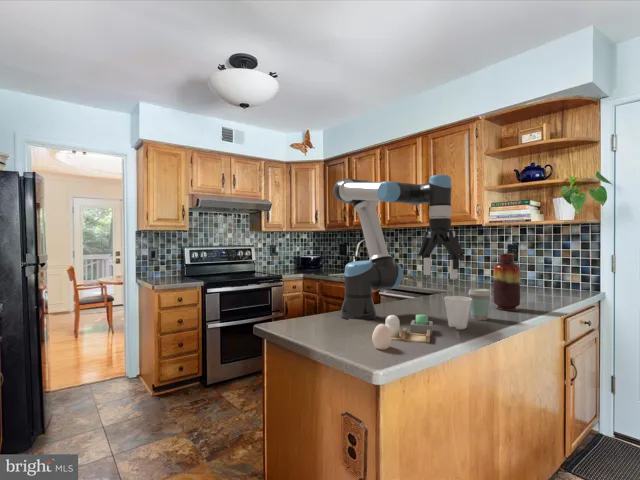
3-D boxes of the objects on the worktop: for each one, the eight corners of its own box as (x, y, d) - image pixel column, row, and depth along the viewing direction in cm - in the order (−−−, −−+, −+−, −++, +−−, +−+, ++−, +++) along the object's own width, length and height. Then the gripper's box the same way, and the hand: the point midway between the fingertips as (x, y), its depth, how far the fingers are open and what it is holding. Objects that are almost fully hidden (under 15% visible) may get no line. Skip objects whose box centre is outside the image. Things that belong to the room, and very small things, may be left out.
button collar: (410, 336, 120) (410, 324, 120) (412, 331, 127) (412, 319, 127) (432, 338, 118) (432, 326, 118) (432, 332, 124) (432, 321, 124)
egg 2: (384, 337, 115) (384, 315, 115) (386, 333, 120) (386, 313, 120) (398, 338, 114) (398, 316, 114) (400, 334, 118) (400, 314, 118)
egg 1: (372, 353, 102) (372, 325, 102) (372, 347, 107) (372, 321, 107) (391, 354, 101) (391, 326, 101) (391, 348, 107) (391, 322, 107)
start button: (415, 329, 121) (415, 316, 121) (416, 326, 125) (416, 314, 125) (427, 330, 120) (427, 317, 120) (428, 327, 123) (428, 314, 123)
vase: (498, 306, 175) (498, 253, 175) (523, 309, 167) (523, 253, 167) (490, 309, 167) (490, 253, 167) (516, 312, 159) (516, 254, 159)
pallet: (377, 341, 114) (377, 331, 114) (381, 334, 122) (381, 325, 122) (429, 346, 109) (429, 336, 109) (430, 338, 117) (430, 329, 117)
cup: (471, 325, 135) (471, 296, 135) (473, 332, 126) (473, 300, 126) (443, 323, 138) (443, 295, 138) (443, 329, 129) (443, 299, 129)
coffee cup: (486, 316, 151) (486, 288, 151) (494, 321, 142) (494, 291, 142) (465, 316, 152) (465, 288, 152) (471, 320, 143) (471, 291, 143)
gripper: (475, 216, 119) (474, 280, 119) (425, 220, 142) (425, 273, 142) (458, 215, 116) (457, 281, 116) (409, 219, 139) (409, 273, 139)
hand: (439, 276), depth 129 cm, fingers open, 13 cm apart
